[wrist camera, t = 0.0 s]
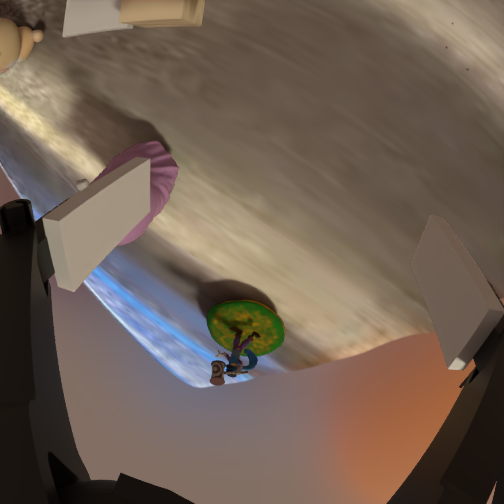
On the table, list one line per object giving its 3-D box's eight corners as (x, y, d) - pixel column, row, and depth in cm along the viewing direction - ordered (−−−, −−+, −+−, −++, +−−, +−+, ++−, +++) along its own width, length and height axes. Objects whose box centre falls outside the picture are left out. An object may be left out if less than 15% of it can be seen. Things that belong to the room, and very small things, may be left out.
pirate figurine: (301, 315, 53) (295, 387, 41) (262, 353, 60) (248, 419, 47) (230, 274, 51) (204, 343, 39) (198, 319, 58) (171, 383, 45)
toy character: (143, 120, 40) (45, 161, 24) (201, 159, 42) (129, 225, 25) (111, 185, 47) (26, 250, 30) (162, 221, 48) (93, 303, 32)
